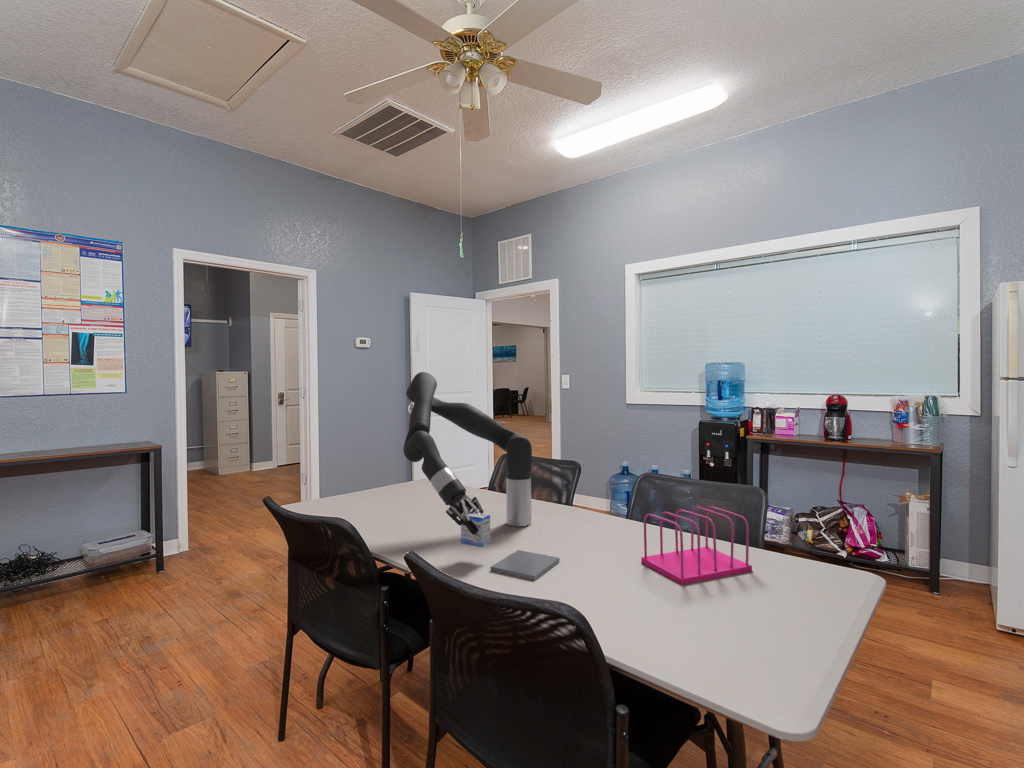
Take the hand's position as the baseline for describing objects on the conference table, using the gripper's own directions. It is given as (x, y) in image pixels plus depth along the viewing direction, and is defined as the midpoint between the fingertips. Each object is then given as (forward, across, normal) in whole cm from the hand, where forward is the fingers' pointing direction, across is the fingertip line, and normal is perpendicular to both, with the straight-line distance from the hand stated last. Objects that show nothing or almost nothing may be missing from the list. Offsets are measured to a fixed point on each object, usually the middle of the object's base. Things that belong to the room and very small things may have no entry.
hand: (480, 530), depth 149 cm
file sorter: (+47, -26, +33) cm, 63 cm away
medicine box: (+2, 0, -4) cm, 5 cm away
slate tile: (+16, -3, +3) cm, 17 cm away
